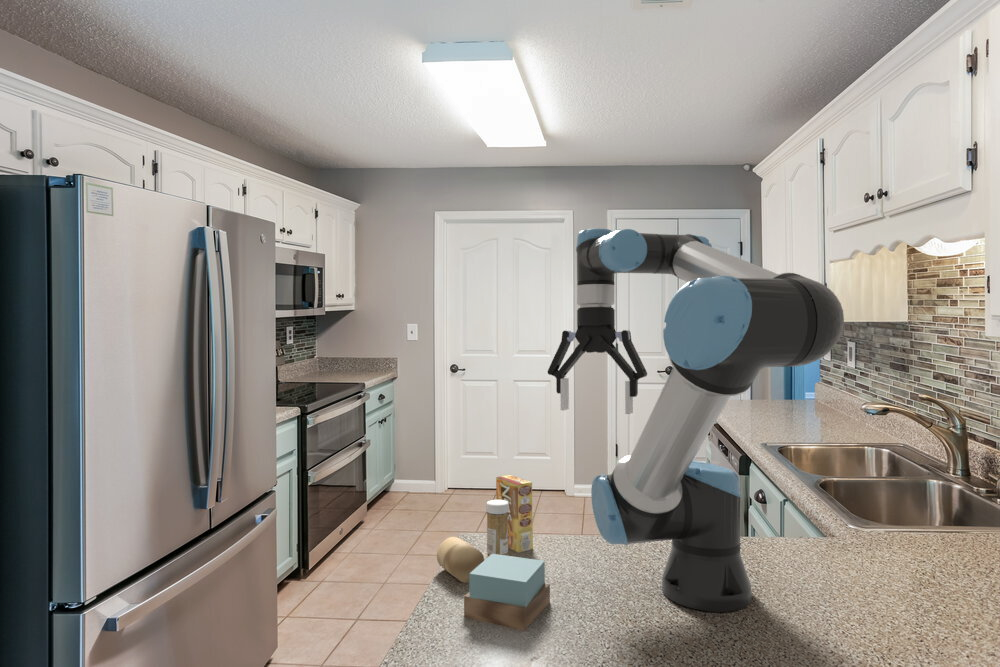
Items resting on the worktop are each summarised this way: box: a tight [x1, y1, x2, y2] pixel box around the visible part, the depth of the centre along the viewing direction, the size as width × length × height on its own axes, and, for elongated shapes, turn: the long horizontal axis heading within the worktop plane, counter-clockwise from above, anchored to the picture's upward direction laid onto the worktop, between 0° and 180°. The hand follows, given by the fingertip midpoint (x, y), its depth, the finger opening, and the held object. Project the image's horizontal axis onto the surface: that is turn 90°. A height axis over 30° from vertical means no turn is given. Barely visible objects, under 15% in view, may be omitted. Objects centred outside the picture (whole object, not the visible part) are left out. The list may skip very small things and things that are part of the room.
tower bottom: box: [463, 582, 551, 632], centre depth 106 cm, size 11×11×4 cm
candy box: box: [495, 474, 534, 553], centre depth 136 cm, size 9×4×15 cm, turn 33°
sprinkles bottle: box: [485, 499, 509, 559], centre depth 125 cm, size 5×5×14 cm
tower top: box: [468, 554, 546, 607], centre depth 106 cm, size 10×10×4 cm
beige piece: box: [436, 536, 485, 584], centre depth 121 cm, size 6×6×8 cm
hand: (596, 411), depth 125 cm, fingers open, 13 cm apart
